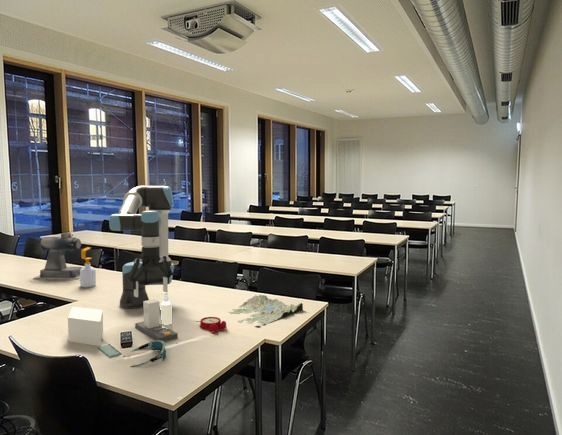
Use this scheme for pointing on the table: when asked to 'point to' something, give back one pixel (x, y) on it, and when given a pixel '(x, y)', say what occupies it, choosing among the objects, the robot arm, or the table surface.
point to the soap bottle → (87, 272)
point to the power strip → (157, 332)
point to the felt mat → (109, 350)
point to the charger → (151, 313)
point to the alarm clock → (212, 324)
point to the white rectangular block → (85, 326)
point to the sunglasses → (156, 345)
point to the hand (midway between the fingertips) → (151, 294)
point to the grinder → (59, 257)
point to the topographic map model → (272, 307)
